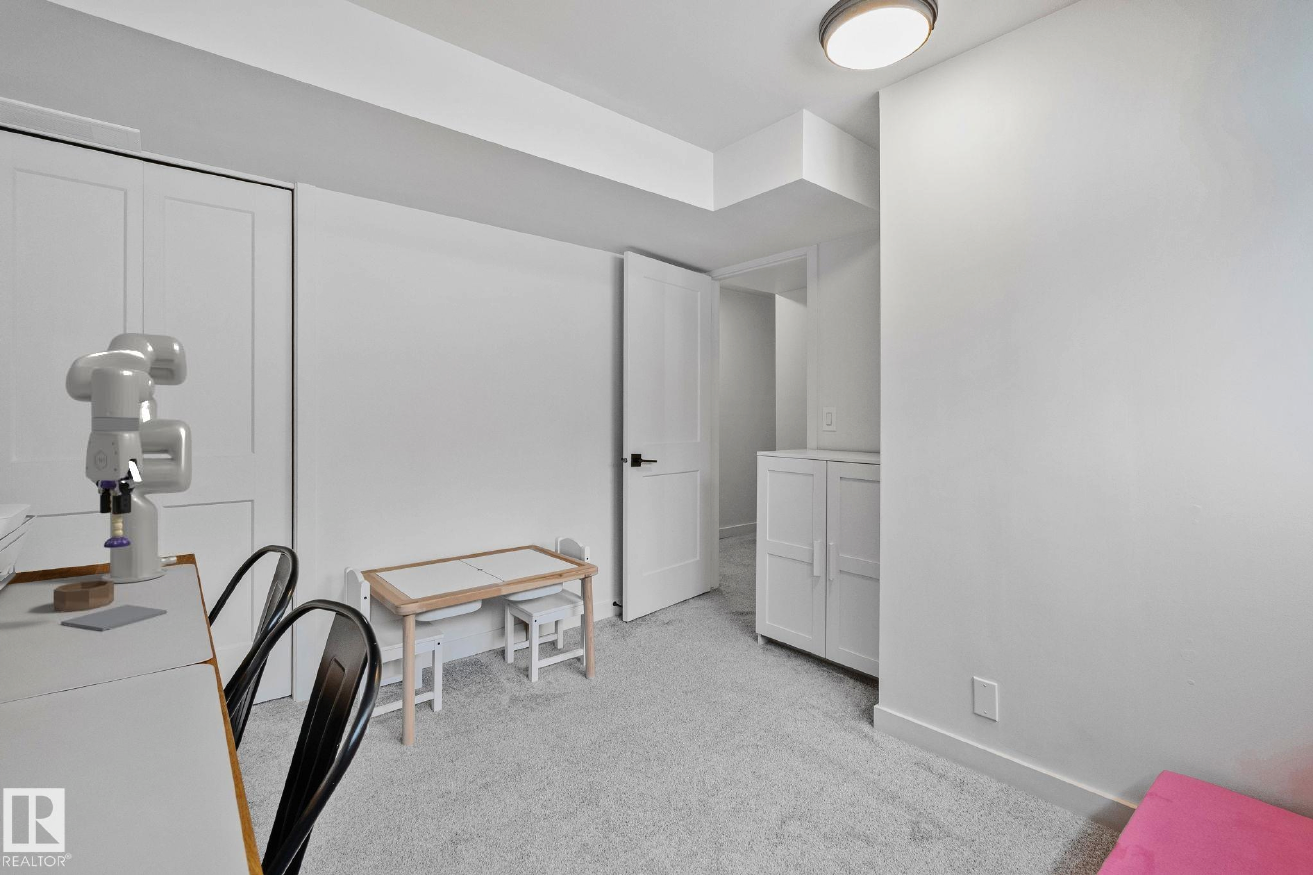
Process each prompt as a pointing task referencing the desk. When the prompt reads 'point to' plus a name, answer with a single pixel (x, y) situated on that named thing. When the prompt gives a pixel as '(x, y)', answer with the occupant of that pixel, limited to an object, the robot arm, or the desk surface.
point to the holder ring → (83, 595)
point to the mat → (114, 617)
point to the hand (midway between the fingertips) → (115, 512)
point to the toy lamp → (115, 521)
